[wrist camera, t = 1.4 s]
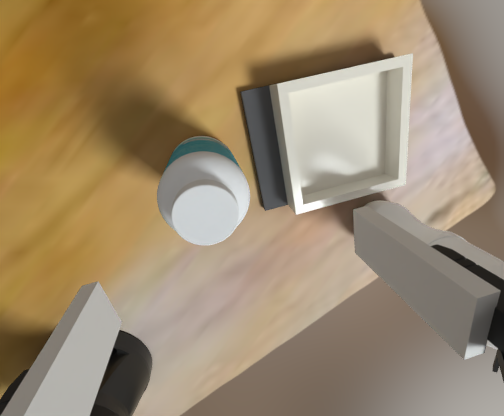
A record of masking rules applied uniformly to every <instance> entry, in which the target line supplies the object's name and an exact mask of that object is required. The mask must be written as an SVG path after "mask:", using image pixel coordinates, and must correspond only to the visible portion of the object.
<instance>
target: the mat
mask: <svg viewBox="0 0 504 416" xmlns="http://www.w3.org/2000/svg"><path fill="white" fill-rule="evenodd" d="M388 59H389V58H388ZM366 64H367V63H366ZM357 66H358V65H357ZM348 68H349V67H348ZM326 73H327V72H326ZM317 75H318V74H317ZM308 77H309V76H308ZM286 82H287V81H286ZM277 84H278V83H277ZM240 93H241V98H242V103H243V108H244V113H245V118H246V122H247V127H248V132H249V137H250V142H251V147H252V152H253V157H254V162H255V167H256V172H257V177H258V182H259V187H260V192H261V196H262V201H263V206H264V209H265V211H266V210H270V209H274V208H277V207H281V206H285V205H288V202H287V196H286V190H285V183H284V177H283V171H282V164H281V158H280V152H279V145H278V139H277V133H276V126H275V120H274V114H273V107H272V101H271V94H270V88H269V85H268V86H264V87H260V88H255V89H251V90H246V91H242V92H240Z"/></svg>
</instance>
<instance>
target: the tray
mask: <svg viewBox="0 0 504 416" xmlns="http://www.w3.org/2000/svg"><path fill="white" fill-rule="evenodd" d="M412 60H413V53H412V54H407V55H403V56H398V57H393V58H389V59H384V60H380V61H375V62H371V63H367V64H362V65H358V66H353V67H349V68H344V69H340V70H335V71H331V72H327V73H322V74H318V75H313V76H309V77H304V78H300V79H295V80H291V81H287V82H282V83H278V84H273V85H269V88H270V94H271V101H272V107H273V114H274V120H275V126H276V133H277V139H278V145H279V152H280V158H281V164H282V171H283V177H284V183H285V190H286V196H287V202H288V205H289V207H290V208H291V209H292V210H293V212H294V213H295V214H296V215H297V214H300V213H304V212H308V211H311V210H315V209H319V208H322V207H326V206H330V205H333V204H337V203H341V202H344V201H348V200H352V199H355V198H359V197H363V196H366V195H370V194H374V193H377V192H381V191H385V190H388V189H392V188H396V187H400V186H403V185H406V170H407V152H408V133H409V115H410V97H411V78H412Z"/></svg>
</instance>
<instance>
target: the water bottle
mask: <svg viewBox="0 0 504 416" xmlns="http://www.w3.org/2000/svg"><path fill="white" fill-rule="evenodd" d="M365 206H368V207H369V208H371V209H373V210H374V211H376V212H377V213H379V214H380V215H382V216H384V217H385V218H387V219H388V220H390V221H391V222H393V223H395V224H396V225H398V226H399V227H401V228H402V229H404V230H406V231H407V232H409V233H410V234H412V235H413V236H415V237H417V238H418V239H420V240H421V241H423V242H425V243H426V244H428V245H429V246H433V245H436V244H438V245H441V246H444V247H447V248H450V249H453V250H454V251H456V252H458V253H459V254H461V255H463V256H464V257H465V258H466V259H467V258H468V259H470V260H471V261H473V262H475V263H476V265H480V266H481V267H483V268H485V269H486V270H488V271H490V272H491V273H493V274H495V275H497V276H498V277H500V278H502V279H503V280H504V261H502V260H500V259H498V258H497V257H495V256H493V255H491V254H489V253H487V252H485V251H484V250H482V249H480V248H478V247H476V246H474V245H472V244H470V243H469V242H467V241H466V240H465V239H464V238H462V237H460V236H458V235H457V234H455V233H453V232H450V231H442V230H438V229H435V228H432V227H429V226H427V225H425V224H424V223H422V222H421V221H419V220H418V219H417V218H416V217H415V216H414V215H412V214H411V212H410V211H409V210H408V209H407V208H405V207H404V206H402V205H400V204H398V203H393V202H388V201H382V200H378V201H372V202H369V203H367V204H366V205H365ZM487 346H489V347H492V348H494V349H497V350H498V348H497V347H495V346H494V345H493V344H492V343H491V342H489V341H487Z"/></svg>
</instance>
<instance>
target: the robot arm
mask: <svg viewBox="0 0 504 416" xmlns="http://www.w3.org/2000/svg"><path fill="white" fill-rule="evenodd" d="M353 220H354V242H355V253H356V254H357V255H358V256H359V257H360V258H361V259H362V260H363V261H364V262H365V263H366V264H367V265H368V266H369V267H370V268H371V269H372V270H373V271H374V272H375V273H376V274H377V275H378V276H379V277H380V278H381V279H382V280H383V281H385V283H387V285H389V286H390V287H391V288H392V289H393V290H394V291H395V292H396V293H397V294H398V295H399V296H400V297H401V298H402V299H403V300H404V301H405V302H406V303H407V304H408V305H409V306H410V307H411V308H412V309H413V310H414V311H415V312H416V313H417V314H418V315H419V316H420V317H421V318H422V319H423V320H424V321H425V322H427V324H428V325H429V326H430V327H431V328H432V329H433V330H434V331H435V332H436V333H437V334H438V335H439V336H440V337H442V339H444V340H445V341H446V342H447V343H448V344H449V345H450V346H451V347H452V348H453V349H454V350H455V351H456V352H457V353H458V354H459V355H460V356H461V357H462V358H463V359H464V360H465V359H467V358H470V357H473V356H476V355H479V354H482V353H484V352H485V348H486V345H487V341H489V342H491V343H492V344H493V345H494V346H495V347H497V348H498V350H497V353H496V357H495V360H494V364H493V371H494V372H497V371H498V368H499V366H500V370H501V373H502V377H503V381H504V280H503V279H502V278H500V277H498V276H497V275H495V274H493V273H491V272H490V271H488V270H486V269H485V268H483V267H481V266H480V265H476V263H475V262H473V261H471V260H470V259H468V258H467V259H466V258H465V257H464V256H463V255H461V254H459V253H458V252H456V251H454V250H453V249H450V248H447V247H444V246H441V245H438V244H436V245H433V246H429V245H428V244H426V243H425V242H423V241H421V240H420V239H418V238H417V237H415V236H413V235H412V234H410V233H409V232H407V231H406V230H404V229H402V228H401V227H399V226H398V225H396V224H395V223H393V222H391V221H390V220H388V219H387V218H385V217H384V216H382V215H380V214H379V213H377V212H376V211H374V210H373V209H371V208H369V207H368V206H364V207H360V208H357V209H353ZM121 324H122V321H121V319H120V318H119V316H118V314H117V312H116V311H115V309H114V307H113V306H112V304H111V302H110V300H109V299H108V297H107V295H106V294H105V292H104V290H103V289H102V287H101V285H100V283H99V282H94V283H91V284H87V285H84V286H82V287H81V288H80V290H79V291H78V293H77V295H76V296H75V298H74V299H73V301H72V303H71V304H70V306H69V307H68V309H67V311H66V312H65V314H64V315H63V317H62V318H61V320H60V322H59V323H58V325H57V326H56V328H55V330H54V331H53V333H52V334H51V336H50V338H49V339H48V341H47V342H46V344H45V346H44V347H43V349H42V350H41V352H40V354H39V355H38V357H37V358H36V360H35V362H34V363H33V365H32V366H31V368H30V369H28V370H25V371H23V372H22V373H21V374H20V376H19V377H18V378H17V379H16V380H15V381H14V382H13V383H12V384H11V385H10V386H9V387H8V389H7V390H6V392H5V393H4V395H3V396H2V398H1V399H0V416H132V415H133V413H134V411H135V409H136V407H137V405H138V403H139V401H140V399H141V397H142V395H143V393H144V391H145V390H146V388H147V386H148V383H149V380H150V374H151V369H152V357H151V354H150V352H149V350H148V349H147V347H146V346H145V345H144V344H143V343H142V342H141V341H139V340H138V339H137V338H135V337H133V336H131V335H129V334H127V333H124V332H121V331H119V329H120V326H121Z"/></svg>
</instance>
